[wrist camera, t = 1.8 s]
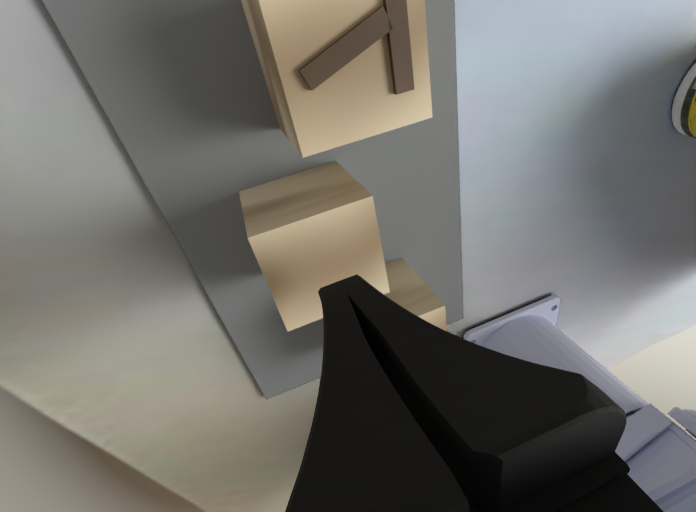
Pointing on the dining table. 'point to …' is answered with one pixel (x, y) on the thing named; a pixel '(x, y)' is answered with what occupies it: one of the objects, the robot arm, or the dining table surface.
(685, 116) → the supplement bottle
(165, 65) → the slate mat
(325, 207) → the blank block
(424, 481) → the robot arm
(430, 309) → the block marked 1
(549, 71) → the dining table surface
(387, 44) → the block marked 7
